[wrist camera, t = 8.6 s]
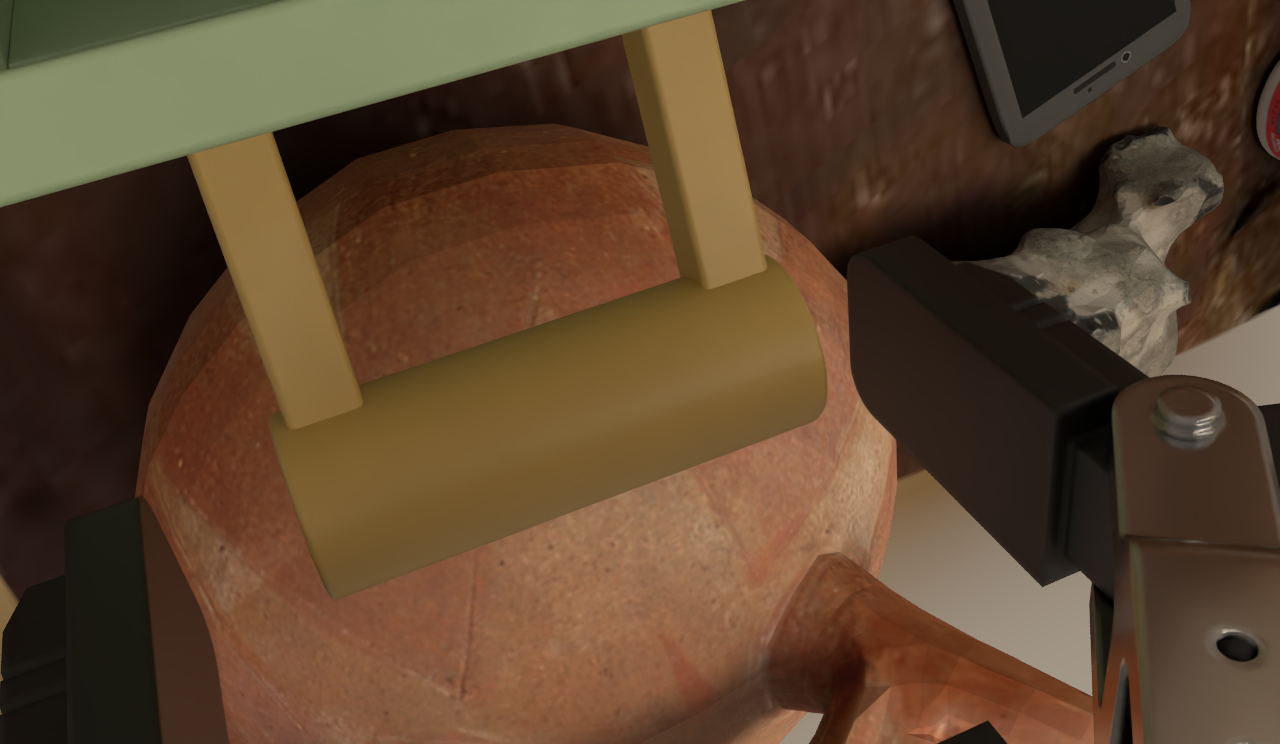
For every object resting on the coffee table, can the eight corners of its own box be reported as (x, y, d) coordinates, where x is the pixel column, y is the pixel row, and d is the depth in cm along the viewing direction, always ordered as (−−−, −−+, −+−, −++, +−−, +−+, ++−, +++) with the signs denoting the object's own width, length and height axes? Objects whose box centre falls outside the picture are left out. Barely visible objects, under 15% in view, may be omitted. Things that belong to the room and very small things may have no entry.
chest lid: (-479, 191, 7) (-98, 887, 9) (1165, -224, 10) (1221, 363, 11) (-36, 109, 19) (88, 401, 21) (634, -64, 22) (698, 206, 24)
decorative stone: (1188, 47, 40) (1431, 238, 34) (1144, 240, 47) (1337, 426, 41) (747, 241, 38) (920, 481, 32) (771, 412, 45) (916, 635, 39)
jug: (707, -39, 33) (1303, 300, 17) (766, 468, 43) (1168, 963, 28) (-3, 164, 29) (-68, 856, 13) (253, 670, 39) (387, 1387, 24)
